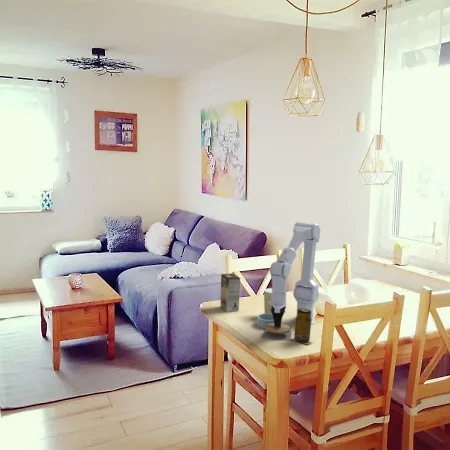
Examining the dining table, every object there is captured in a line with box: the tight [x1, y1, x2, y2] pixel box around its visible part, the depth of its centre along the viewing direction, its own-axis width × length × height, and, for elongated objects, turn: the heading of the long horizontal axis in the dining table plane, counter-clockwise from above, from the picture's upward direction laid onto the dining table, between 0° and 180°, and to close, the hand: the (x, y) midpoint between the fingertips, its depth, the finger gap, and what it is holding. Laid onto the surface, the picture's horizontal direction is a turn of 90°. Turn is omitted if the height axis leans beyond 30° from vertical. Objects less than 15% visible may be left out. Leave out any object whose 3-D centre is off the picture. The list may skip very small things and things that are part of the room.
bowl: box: [256, 312, 274, 329], centre depth 204 cm, size 10×10×4 cm
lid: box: [264, 323, 291, 333], centre depth 192 cm, size 10×10×5 cm
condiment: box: [290, 308, 313, 345], centre depth 187 cm, size 7×8×12 cm
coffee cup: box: [263, 287, 272, 314], centre depth 216 cm, size 9×9×12 cm
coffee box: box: [220, 272, 241, 313], centre depth 225 cm, size 9×6×16 cm
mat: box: [261, 328, 292, 342], centre depth 192 cm, size 11×11×1 cm
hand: (277, 325), depth 192 cm, fingers closed on lid, 3 cm apart
